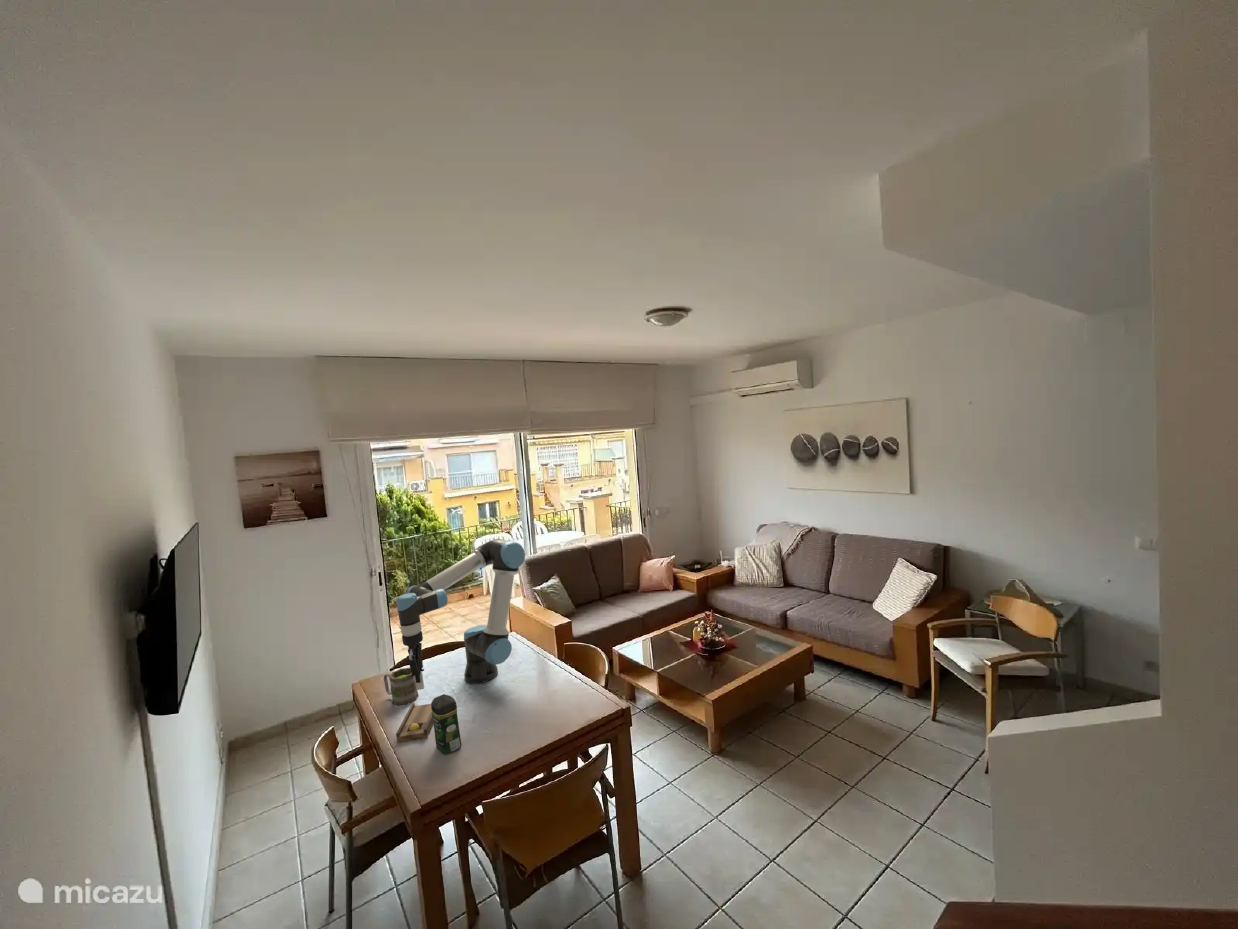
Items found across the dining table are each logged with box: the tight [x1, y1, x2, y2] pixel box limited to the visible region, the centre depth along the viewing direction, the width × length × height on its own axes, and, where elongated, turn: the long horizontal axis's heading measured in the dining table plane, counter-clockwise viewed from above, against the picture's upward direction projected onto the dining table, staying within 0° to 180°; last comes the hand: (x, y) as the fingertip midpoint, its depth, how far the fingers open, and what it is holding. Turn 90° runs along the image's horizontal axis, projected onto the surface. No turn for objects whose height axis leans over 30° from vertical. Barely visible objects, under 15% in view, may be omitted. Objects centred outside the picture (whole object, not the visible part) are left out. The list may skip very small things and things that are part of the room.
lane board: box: [395, 702, 434, 744], centre depth 208 cm, size 11×22×4 cm, turn 7°
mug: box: [383, 667, 419, 707], centre depth 230 cm, size 16×11×12 cm
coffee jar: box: [430, 693, 462, 755], centre depth 190 cm, size 10×8×19 cm
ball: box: [409, 723, 420, 731], centre depth 202 cm, size 4×4×4 cm
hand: (420, 688), depth 211 cm, fingers closed
